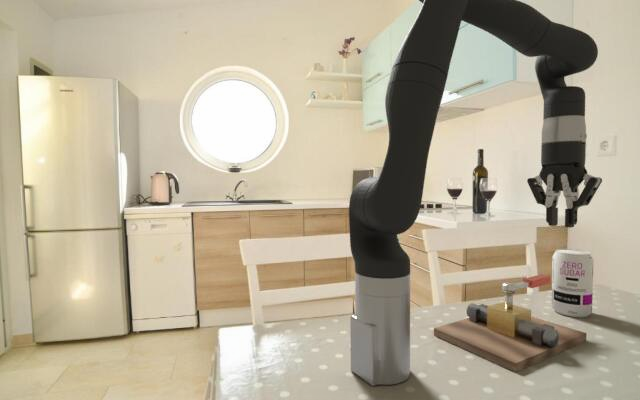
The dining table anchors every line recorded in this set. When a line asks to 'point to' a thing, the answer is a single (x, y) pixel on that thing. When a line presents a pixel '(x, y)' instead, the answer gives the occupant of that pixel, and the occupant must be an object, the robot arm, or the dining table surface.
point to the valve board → (506, 343)
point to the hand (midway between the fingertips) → (561, 225)
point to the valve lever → (526, 283)
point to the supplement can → (572, 282)
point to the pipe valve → (513, 322)
